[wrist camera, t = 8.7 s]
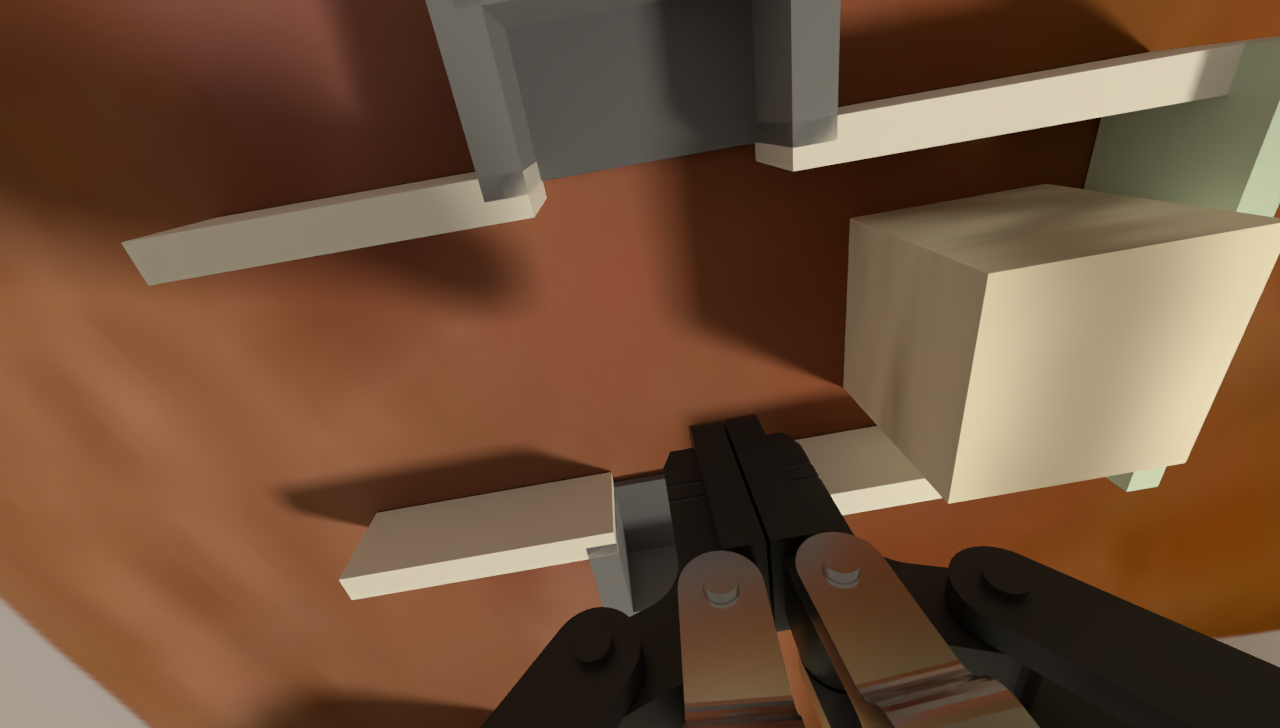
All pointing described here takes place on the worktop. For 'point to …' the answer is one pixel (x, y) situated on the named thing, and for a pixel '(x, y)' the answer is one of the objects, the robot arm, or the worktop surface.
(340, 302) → the worktop surface
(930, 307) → the birch block
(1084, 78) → the trap box
